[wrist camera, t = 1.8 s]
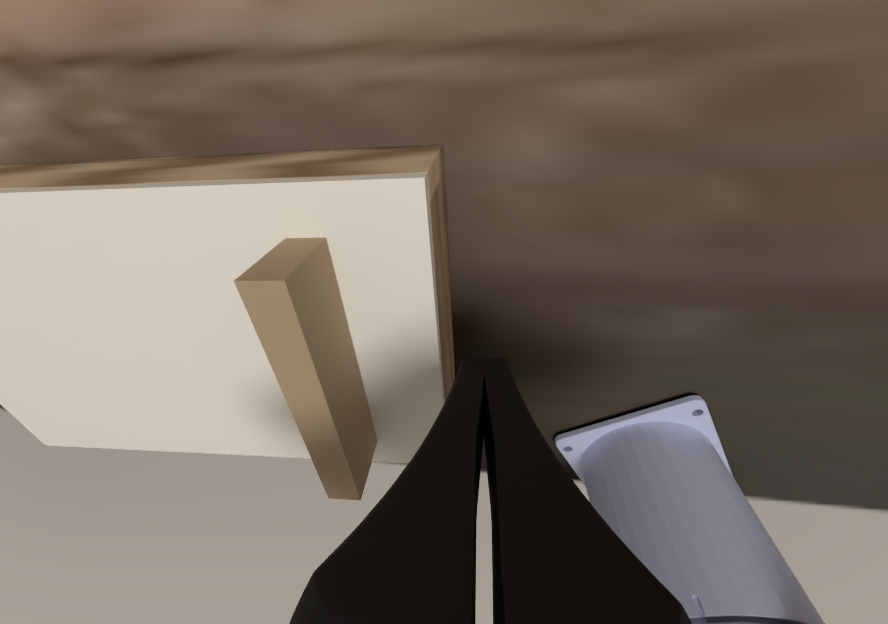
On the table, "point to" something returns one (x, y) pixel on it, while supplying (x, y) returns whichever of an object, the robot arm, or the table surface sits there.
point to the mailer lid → (225, 319)
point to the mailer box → (274, 168)
